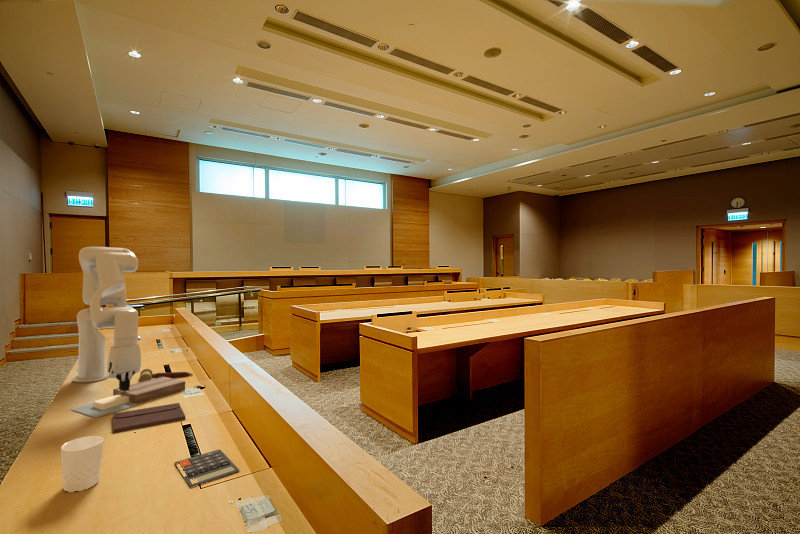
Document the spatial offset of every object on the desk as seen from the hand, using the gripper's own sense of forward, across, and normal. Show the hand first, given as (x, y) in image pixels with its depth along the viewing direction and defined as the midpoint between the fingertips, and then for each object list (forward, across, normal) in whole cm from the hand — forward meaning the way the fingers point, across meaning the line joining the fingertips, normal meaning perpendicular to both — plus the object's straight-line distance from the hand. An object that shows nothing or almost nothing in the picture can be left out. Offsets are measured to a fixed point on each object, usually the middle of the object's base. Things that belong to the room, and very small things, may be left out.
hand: (124, 390), depth 148 cm
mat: (+4, +7, +1) cm, 8 cm away
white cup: (+4, +38, +49) cm, 62 cm away
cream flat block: (+4, +5, 0) cm, 6 cm away
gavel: (+5, -27, -14) cm, 31 cm away
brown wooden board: (+4, -10, 0) cm, 11 cm away
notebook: (+5, +6, +24) cm, 25 cm away
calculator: (+5, +19, +68) cm, 71 cm away
